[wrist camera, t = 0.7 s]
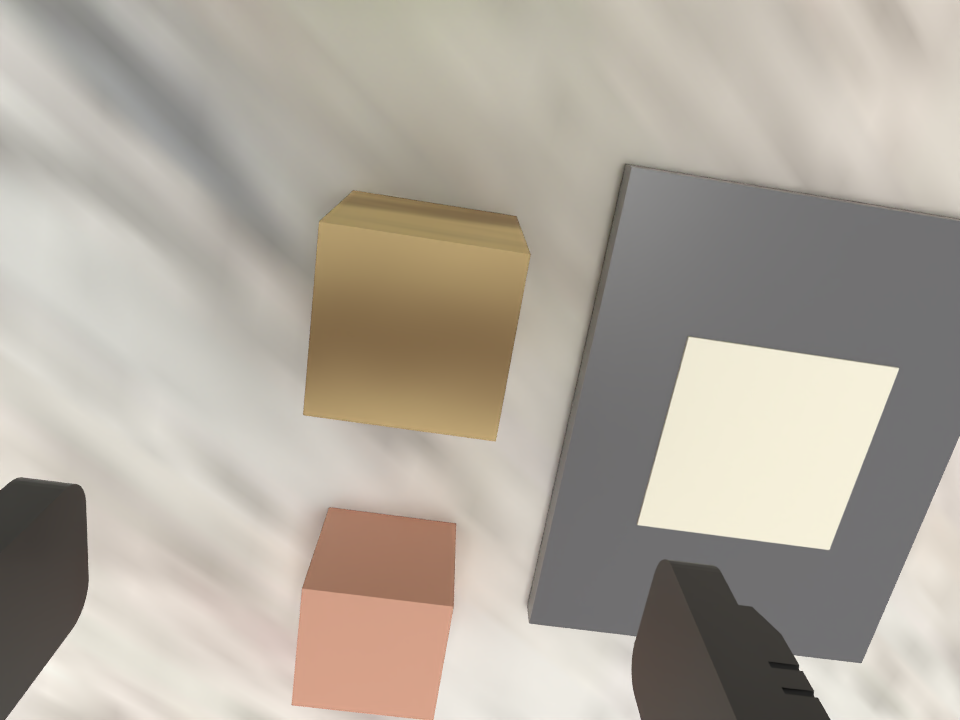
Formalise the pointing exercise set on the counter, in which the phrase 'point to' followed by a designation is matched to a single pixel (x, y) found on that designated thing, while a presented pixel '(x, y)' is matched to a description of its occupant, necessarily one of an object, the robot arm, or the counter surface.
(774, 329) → the grey flat slab
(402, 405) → the ochre block
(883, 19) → the counter surface
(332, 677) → the terracotta block
